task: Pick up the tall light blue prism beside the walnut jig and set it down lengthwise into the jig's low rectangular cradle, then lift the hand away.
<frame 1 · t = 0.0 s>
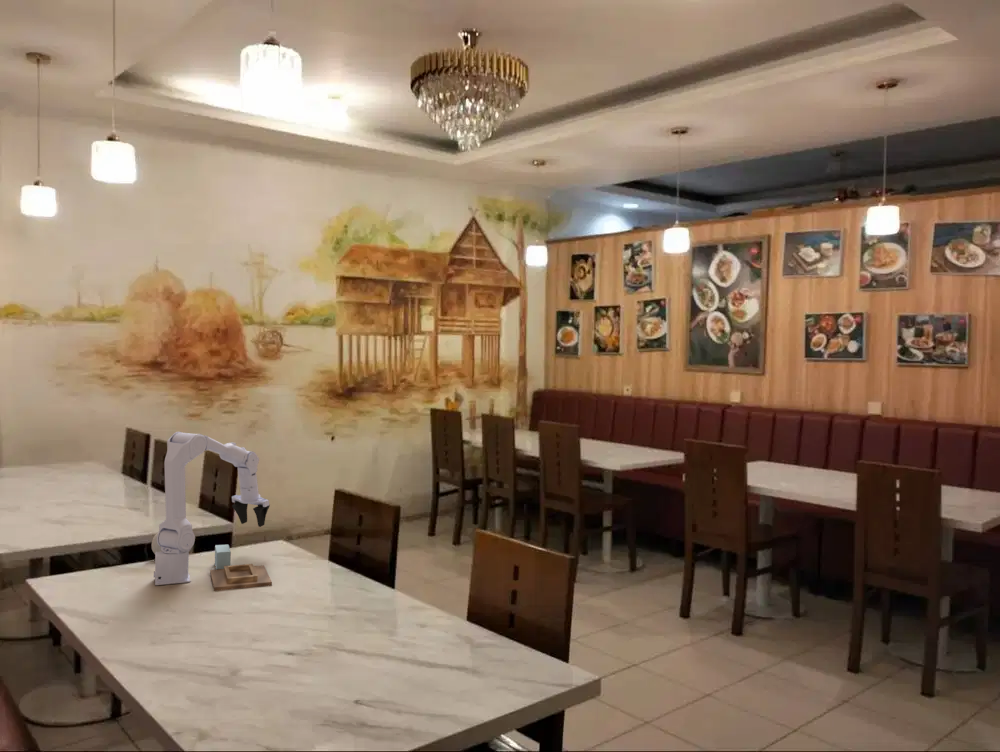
hand: (252, 524, 252), 11 cm above the table, tool pointing down, fingers open, 7 cm apart
tall light blue prism: (222, 567, 238), on the table
cradle: (240, 579, 226), on the table
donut: (166, 558, 246), on the table
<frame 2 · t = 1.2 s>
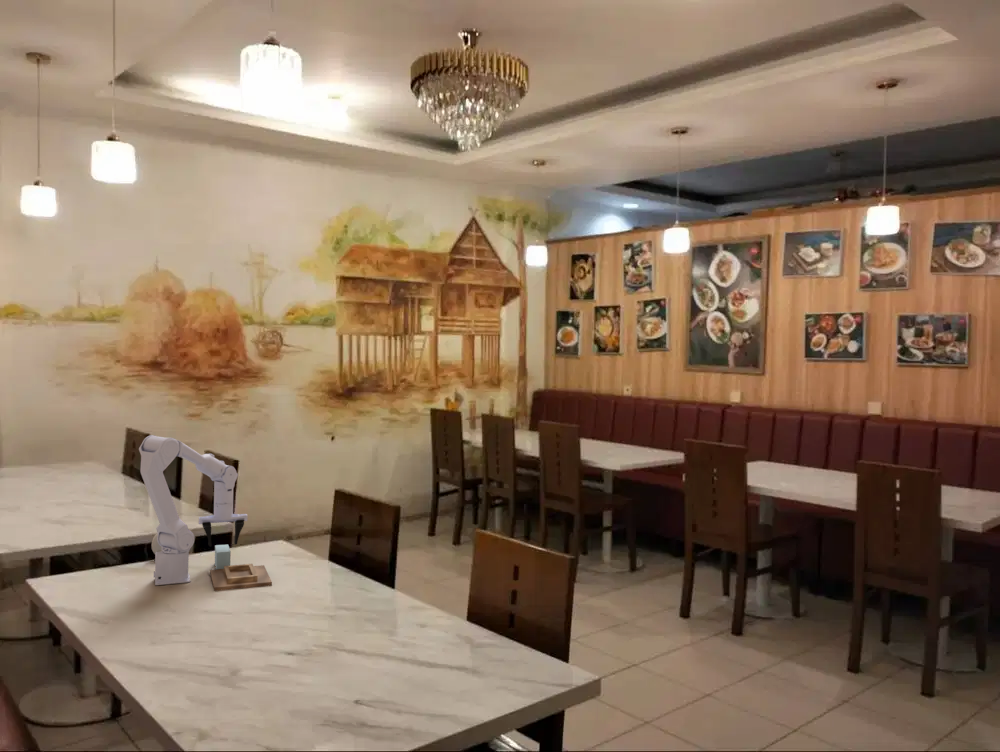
hand: (222, 544, 238), 7 cm above the table, tool pointing down, fingers open, 7 cm apart
nothing on the table moved.
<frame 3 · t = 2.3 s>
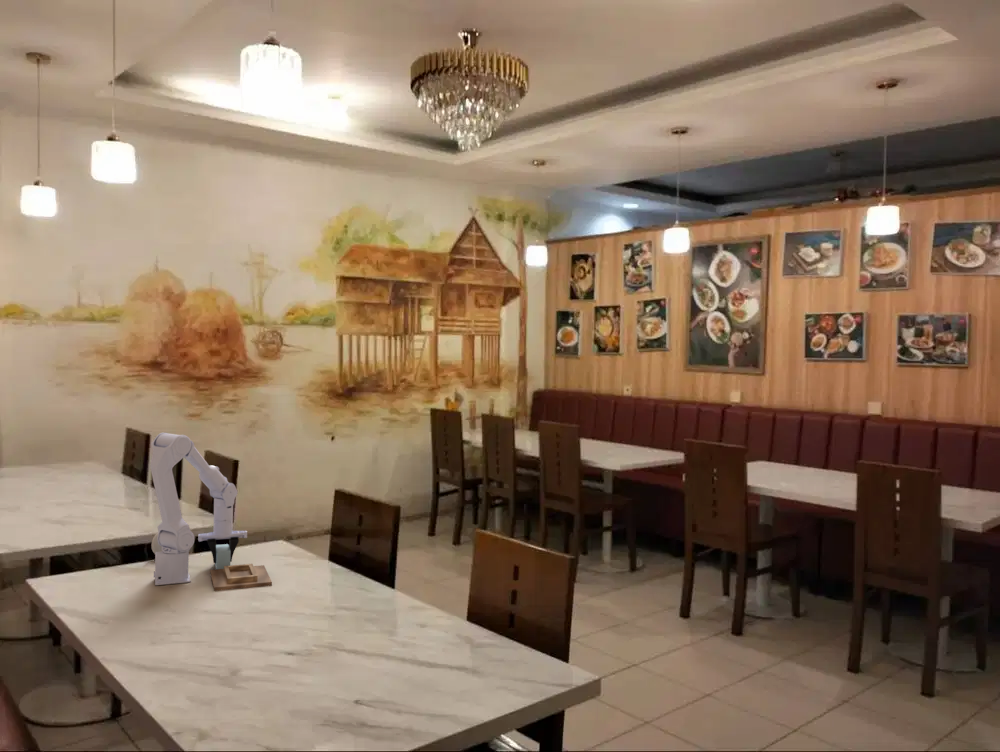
hand: (222, 561, 238), 2 cm above the table, tool pointing down, fingers closed on tall light blue prism, 4 cm apart
tall light blue prism: (222, 566, 238), on the table, touching gripper
everything else where it was.
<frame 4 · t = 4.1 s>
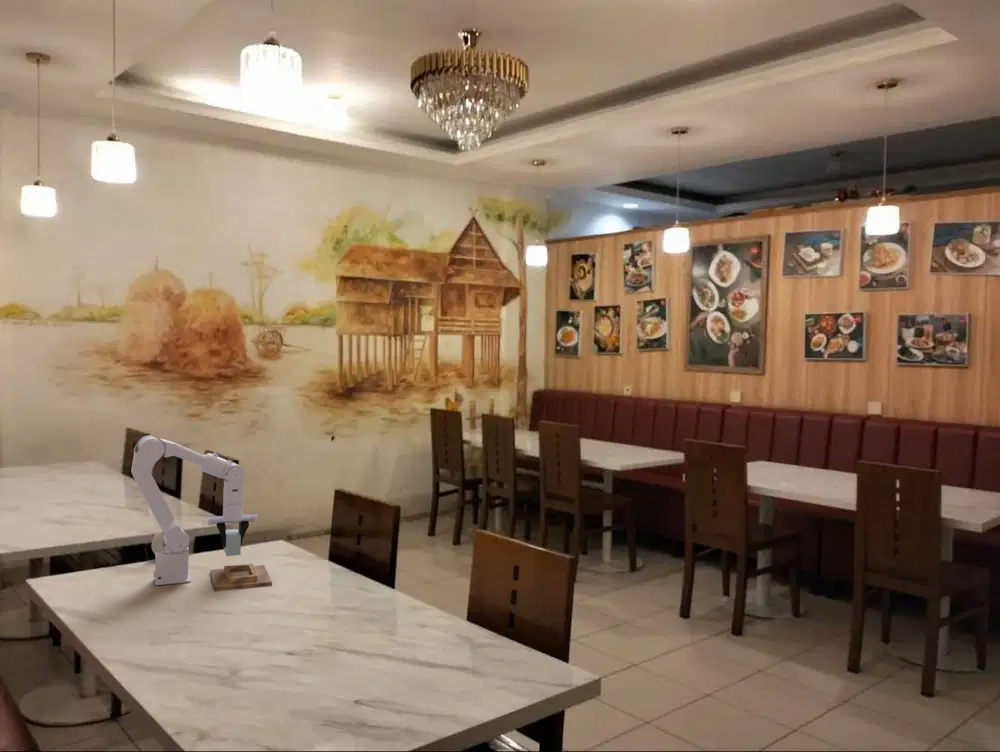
hand: (232, 546, 232), 8 cm above the table, tool pointing down, fingers closed on tall light blue prism, 4 cm apart
tall light blue prism: (231, 551, 232), point 7 cm above the table, touching gripper
everything else where it was.
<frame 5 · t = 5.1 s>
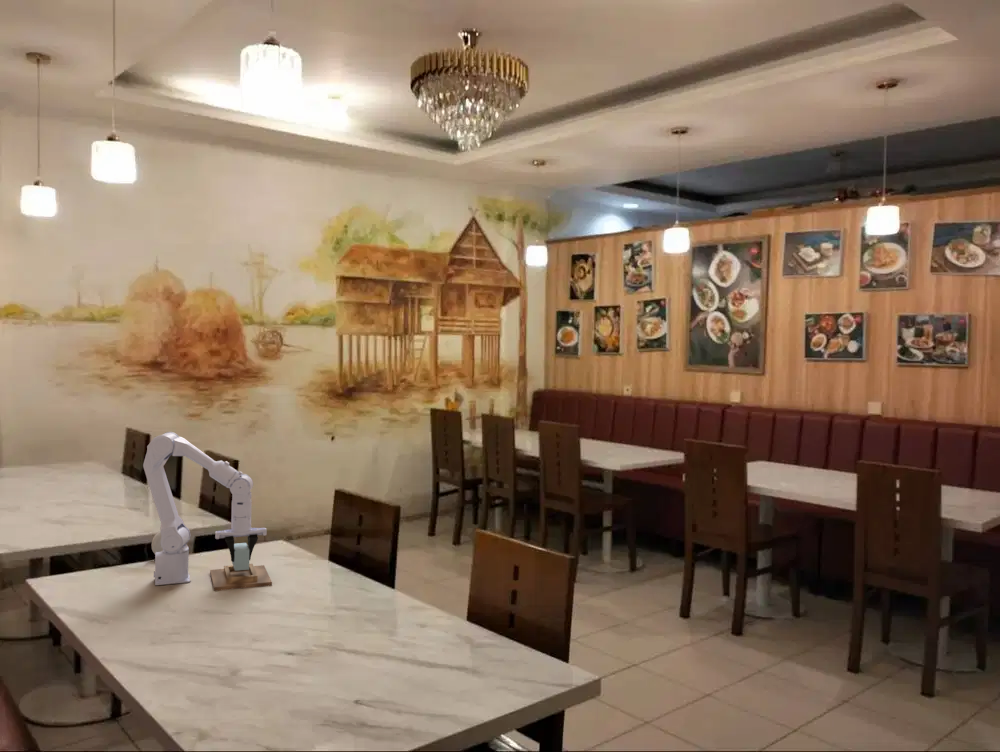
hand: (240, 560, 226), 6 cm above the table, tool pointing down, fingers closed on tall light blue prism, 4 cm apart
tall light blue prism: (240, 566, 227), point 4 cm above the table, touching gripper
everything else where it was.
when the fingers open (4 cm above the table, at t = 5.8 s): tall light blue prism stays where it is, resting on cradle.
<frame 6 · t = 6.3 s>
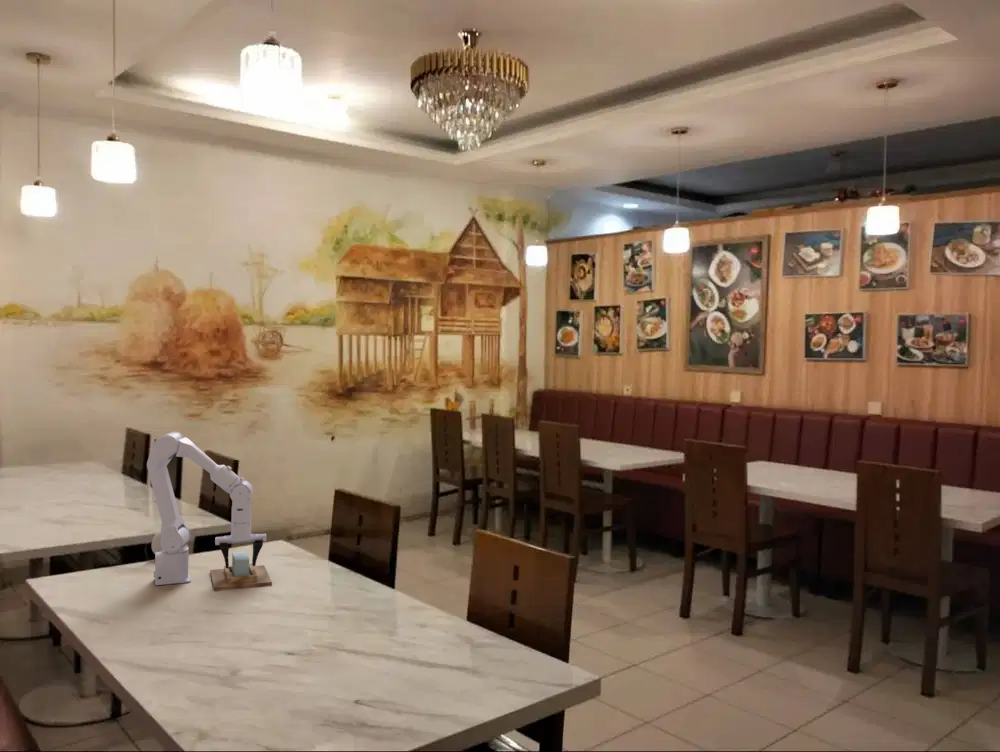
hand: (240, 566, 226), 4 cm above the table, tool pointing down, fingers open, 7 cm apart
tall light blue prism: (240, 575, 227), point 1 cm above the table, touching cradle
everything else where it was.
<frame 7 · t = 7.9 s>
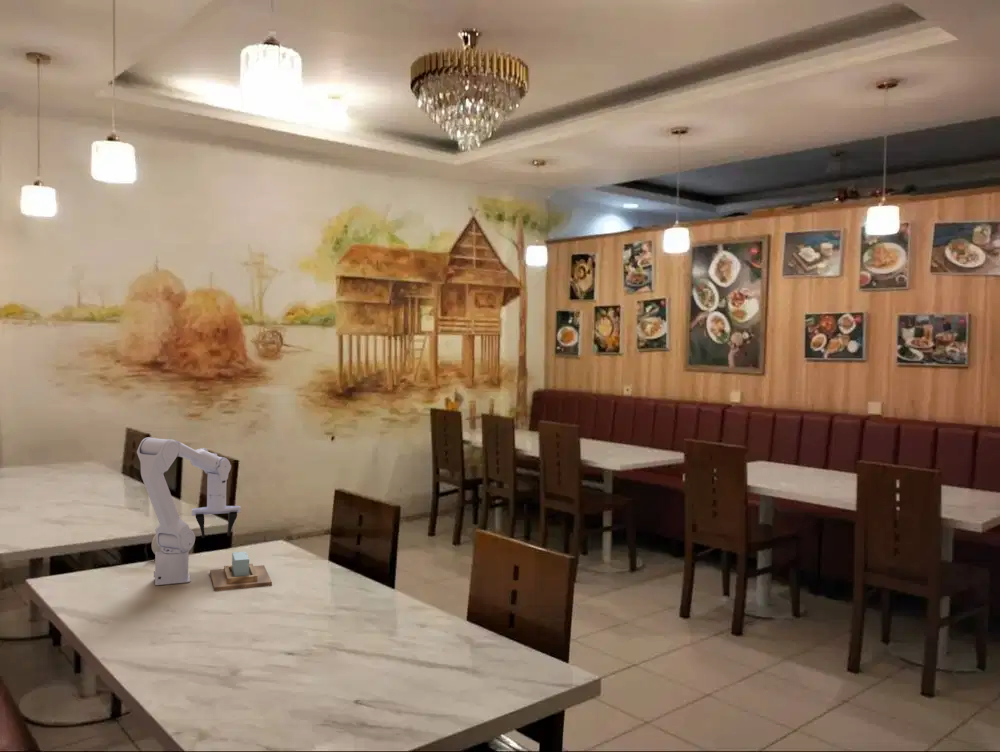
hand: (216, 536, 239), 9 cm above the table, tool pointing down, fingers open, 7 cm apart
nothing on the table moved.
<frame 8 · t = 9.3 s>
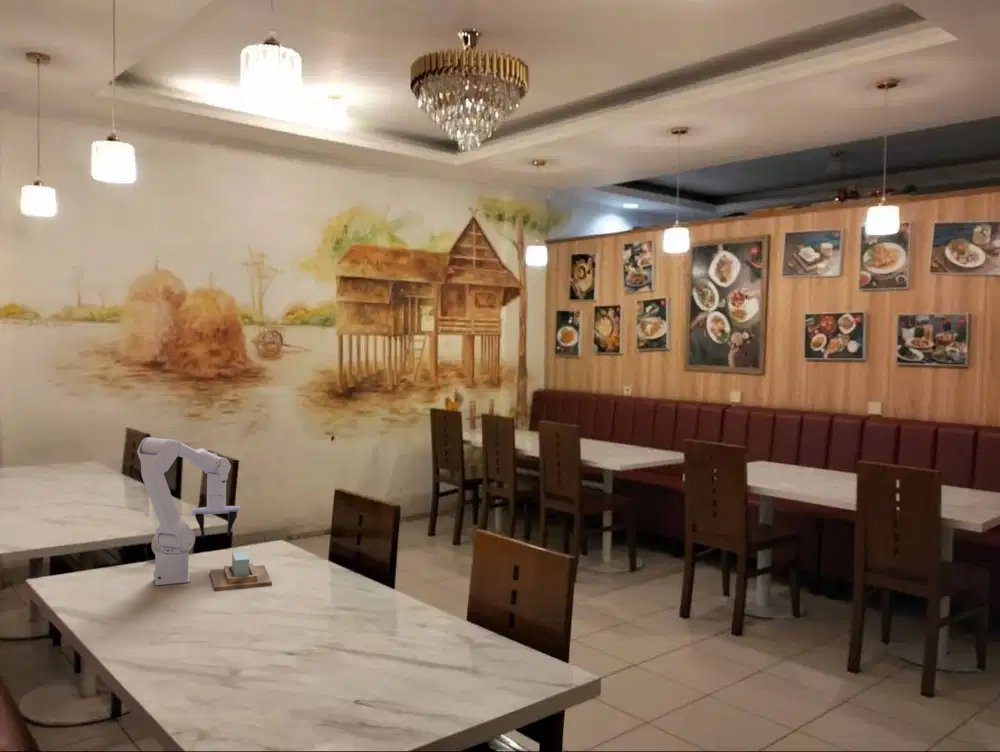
hand: (215, 536, 239), 9 cm above the table, tool pointing down, fingers open, 7 cm apart
nothing on the table moved.
at the end: tall light blue prism 0.4 cm off-centre on the cradle, point 1.0 cm above the cradle's base; tall light blue prism tilted 0°; the gripper is holding nothing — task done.
